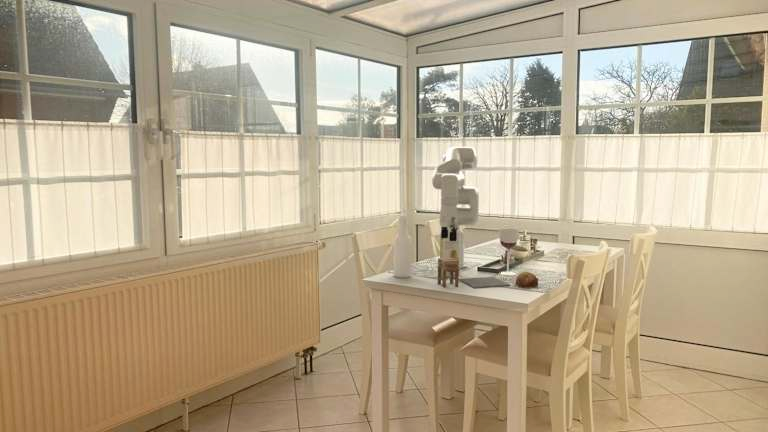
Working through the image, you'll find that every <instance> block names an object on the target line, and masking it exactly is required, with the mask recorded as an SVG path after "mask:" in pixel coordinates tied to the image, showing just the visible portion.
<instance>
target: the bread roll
mask: <svg viewBox="0 0 768 432" xmlns="http://www.w3.org/2000/svg"><path fill="white" fill-rule="evenodd" d="M538 285H539V279H538V278H537V276H536V274H533V273H532V272H529V271H528V272H527V271H523V272H520V273H519V274H518V275H516V278H515V286H518V287H520V288H527V289H528V288H530V287H531V288H536V287H538ZM531 288H530V289H531Z"/></svg>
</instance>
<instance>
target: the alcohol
mask: <svg viewBox="0 0 768 432" xmlns="http://www.w3.org/2000/svg"><path fill="white" fill-rule="evenodd" d="M398 217H399V218H398V229H397V230H398V231H397V234H396V235H395V237H394V239H393V275H394V277H396V278H401V279H403V278H404V279H405V278H410V277H411V276H412V267H413V264H412V263H413V262H412V260H413V259H412V257H413V252H412V250H413V247H412V245H413V241H412V237H411V236H410V234H409V231H408V220H407V219H408V215H406V214H399V216H398Z"/></svg>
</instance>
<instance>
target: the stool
mask: <svg viewBox="0 0 768 432" xmlns="http://www.w3.org/2000/svg"><path fill="white" fill-rule="evenodd" d="M441 269H443V275H441ZM454 269H455V276H454V277H453V270H454ZM446 270H450V277H449V284H451V285H453V284H454V287H455V288H456V287H457V288H458V287H459V282H460V281H459V279H460V278H459V277H460V275H459V260H457V259H455V258H440V257H439V258H437V285H442V288H447V277H446Z"/></svg>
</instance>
